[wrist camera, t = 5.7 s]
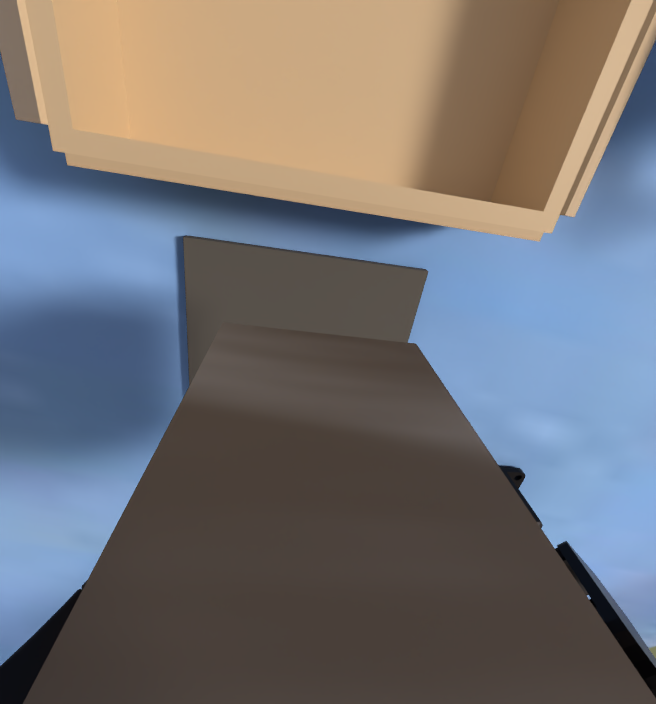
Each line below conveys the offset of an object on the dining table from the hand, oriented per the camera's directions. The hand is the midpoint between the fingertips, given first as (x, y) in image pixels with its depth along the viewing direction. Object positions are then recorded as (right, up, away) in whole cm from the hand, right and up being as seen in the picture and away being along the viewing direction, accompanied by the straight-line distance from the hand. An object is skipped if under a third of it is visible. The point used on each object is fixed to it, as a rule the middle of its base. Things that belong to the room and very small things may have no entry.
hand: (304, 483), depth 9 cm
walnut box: (0, +1, +1) cm, 1 cm away
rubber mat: (-1, +4, +8) cm, 9 cm away
